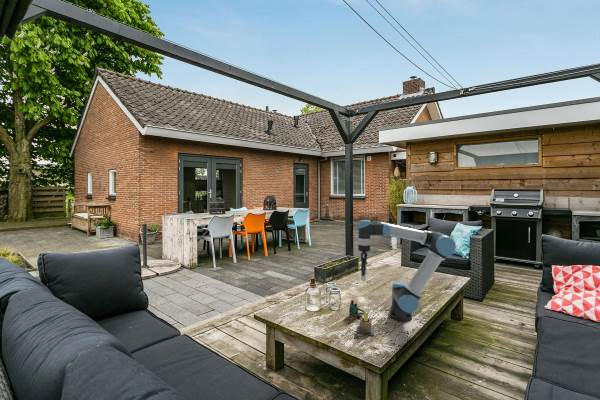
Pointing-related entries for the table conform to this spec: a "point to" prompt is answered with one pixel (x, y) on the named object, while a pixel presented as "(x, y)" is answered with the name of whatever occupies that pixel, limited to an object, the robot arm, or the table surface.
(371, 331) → the keeper
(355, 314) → the binoculars
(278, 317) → the table surface
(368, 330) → the link
